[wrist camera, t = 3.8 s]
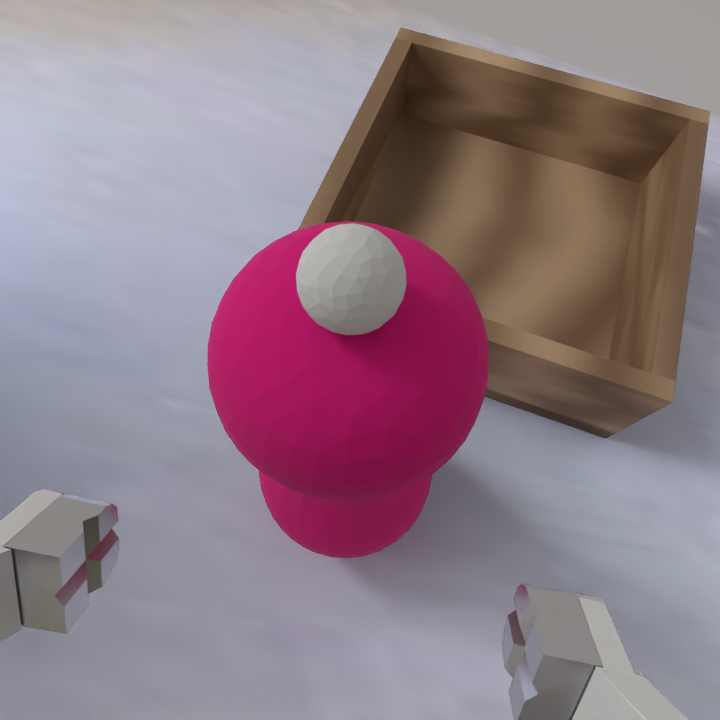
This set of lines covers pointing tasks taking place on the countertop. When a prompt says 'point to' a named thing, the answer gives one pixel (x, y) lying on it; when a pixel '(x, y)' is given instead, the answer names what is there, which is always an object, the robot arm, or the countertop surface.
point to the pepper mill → (347, 379)
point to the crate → (537, 217)
